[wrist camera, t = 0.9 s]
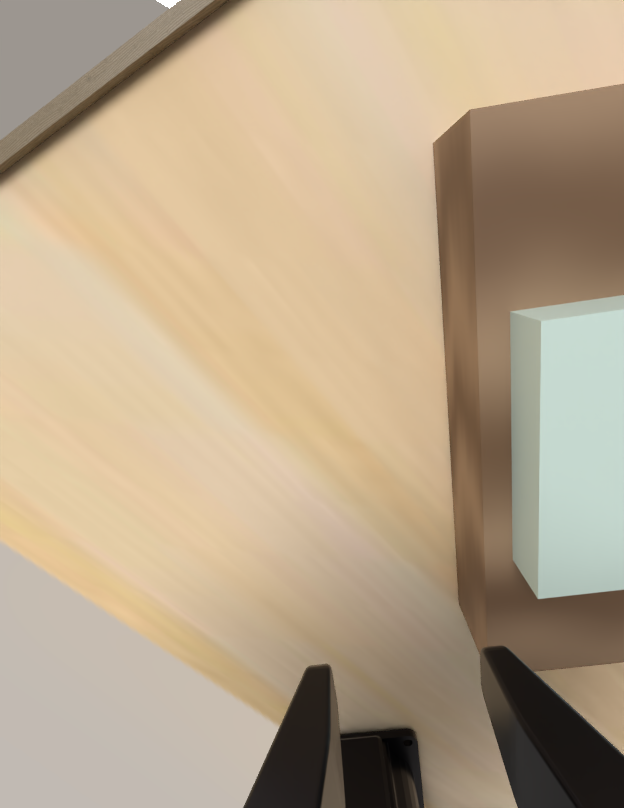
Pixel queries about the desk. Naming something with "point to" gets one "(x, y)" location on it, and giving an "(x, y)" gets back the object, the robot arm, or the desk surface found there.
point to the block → (568, 446)
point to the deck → (490, 335)
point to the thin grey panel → (76, 58)
